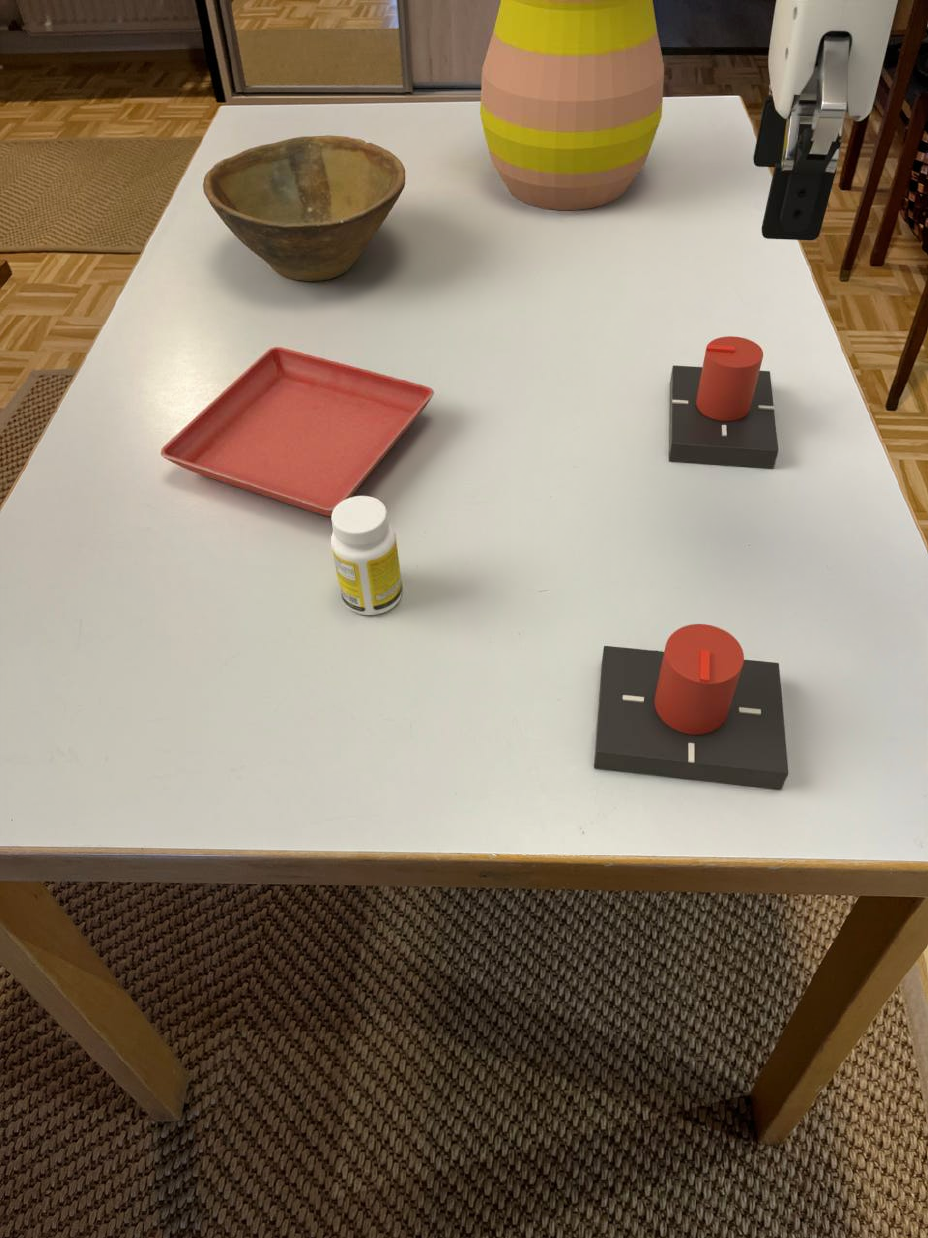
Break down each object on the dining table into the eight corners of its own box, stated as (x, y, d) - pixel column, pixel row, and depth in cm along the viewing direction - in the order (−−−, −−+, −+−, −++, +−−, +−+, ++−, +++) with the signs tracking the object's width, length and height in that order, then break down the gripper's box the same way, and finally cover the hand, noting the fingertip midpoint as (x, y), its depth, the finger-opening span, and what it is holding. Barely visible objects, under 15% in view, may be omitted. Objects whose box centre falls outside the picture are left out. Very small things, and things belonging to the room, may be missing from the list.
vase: (468, 156, 125) (461, -124, 103) (626, 141, 127) (653, -138, 104) (498, 231, 111) (497, -76, 88) (675, 212, 112) (719, -93, 90)
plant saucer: (339, 539, 76) (333, 509, 73) (165, 481, 82) (154, 451, 79) (439, 417, 86) (437, 387, 84) (279, 373, 92) (272, 344, 90)
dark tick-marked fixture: (772, 680, 65) (779, 661, 63) (781, 790, 59) (789, 772, 58) (601, 662, 67) (604, 643, 65) (593, 768, 61) (596, 750, 59)
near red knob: (655, 672, 63) (667, 616, 59) (727, 681, 63) (744, 625, 58) (652, 730, 60) (664, 675, 56) (728, 739, 59) (746, 684, 55)
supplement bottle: (404, 572, 73) (395, 491, 67) (400, 617, 70) (390, 536, 64) (344, 572, 73) (329, 492, 67) (338, 617, 70) (321, 536, 64)
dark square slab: (669, 382, 89) (672, 363, 87) (765, 388, 88) (770, 369, 86) (668, 461, 81) (671, 441, 80) (773, 469, 80) (779, 449, 78)
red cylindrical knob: (750, 391, 84) (763, 335, 80) (750, 423, 81) (764, 366, 77) (696, 387, 85) (707, 330, 81) (694, 418, 82) (705, 361, 78)
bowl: (408, 210, 115) (401, 125, 107) (415, 306, 100) (408, 215, 92) (232, 221, 114) (213, 136, 107) (212, 319, 99) (189, 229, 92)
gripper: (987, -123, 38) (864, 273, 50) (917, -195, 49) (831, 143, 62) (797, -122, 39) (724, 266, 51) (772, -193, 50) (717, 140, 63)
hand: (782, 199), depth 57 cm, fingers open, 9 cm apart
